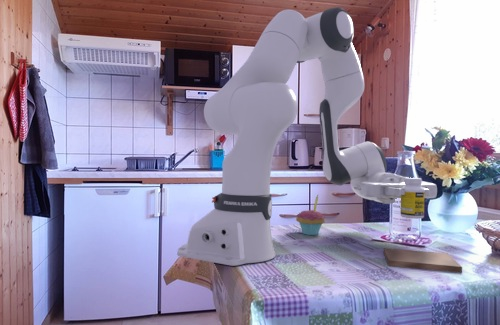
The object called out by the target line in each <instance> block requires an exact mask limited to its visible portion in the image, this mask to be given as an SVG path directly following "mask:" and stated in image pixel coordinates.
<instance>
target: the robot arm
mask: <svg viewBox="0 0 500 325" xmlns="http://www.w3.org/2000/svg"><path fill="white" fill-rule="evenodd" d="M354 32H355V26H354V22H353V19H352V16H351V15H350V14H349V12H347V10H345V9H344V8H342V7H340V6H339V7H331V8H327V9H324V10H323V11H322V12H318V13H315V14H313V15H310V16H309V17H304V15H302V13H300V12H299V11H297V10H294V9H283V10H281V11H279V12H278V13H277V14H276V15H274V17H273V18H272V19H271V21H269V23H268V24H267V26H265V28H264V30H263V31H262V33H261V35H260V37H259V39H258V40H257V42H256V44H255V46H254V48H253V49H252V51H251V53H250V55H249V56H248V57H247V59H246V61H245V62H244V63H243V64H242V66H241V67H240V68H239V69H238V70H237V71H236V72H235V73H234V74H233V75H232V76H231V78H230V79H228V81H227V82H226V83H225V85H224V86H223V87H221V88H220V89H219V90H218V91H217V92H216V93H214V94H213V95H211V96H210V97H209V98H208V99H207V100H206V102H205V104H204V107H203V117H204V120H205V123H206V124H207V126H208V127H209V129H211V130H212V131H214V132H217V133H221V134H223V135H224V134H225V135H231V136H233V135H237V136H236V140H235V143H234V145H233V147H232V149H231V150H230V151H229V152H228V153H227V154H226V155H225V156H224V158H223V161H222V173H221V174H222V178H221V179H222V180H221V192H220V193H219V194H217V195H215V196H214V197H213V196H212V197H211V199H212V200H211V203H213V207H214V208H213V209H212V210H211V211H209V212H208V213H207V214H206V215H205V216H203V217H201V218H200V219H199V220H197V221H196V222H195V223H194V224H193V225H192V226H191V227H190V230H189V231H188V232H189V233H188V238H187V242H186V243H184V244H182V245H181V246H180V247H178V249H177V254H176V255H177V257H179V258H181V257H182V258H187V259H192V260H193V259H194V260H197V261H204V262H209V263H215V264H221V265H226V266H234V267H235V266H241V265H244V264H253V263H262V262H267V261H271V260H272V259H274V258H275V257H276V252H275V248H274V243H273V237H272V228H271V218H272V216H273V215H272V212H273V200H272V194H271V193H270V192H271V191H270V190H271V172H272V171H271V170H272V163H273V162H272V161H273V157H274V152H275V150H276V148H277V145H278V142H279V141H280V139H281V137H282V135H284V133H285V131H286V130H287V129H288V128H289V127H291V125H292V124H293V123H294V121H295V119H296V118H297V115H298V105H299V104H298V99H297V96H296V94H295V92H294V90H293V89H292V88H291V86H289V85H288V84H287V83H288V81H289V80H290V78H291V76H292V74H293V72H294V69H295V68H296V65H297V64H301V63H304V62H306V61H312V60H314V59H318V60H319V62H320V68H321V73H322V78H323V81H324V88H325V89H324V90H325V91H324V97H323V99H322V101H321V102H319V103H320V104H319V112H318V113H319V127H320V136H321V138H320V139H321V148H322V171H323V175H324V177H325V179H326V180H327V182H330V183H331V184H334V185H335V186H336V185H337V186H341V187H342V186H343V185H346V184H347V183H349V182H350V188H351V190H352V191H353V192H354V193H355V194H356V195H357V196H358V197H361V199H362V198H363V199H365V200H369V201H374V202H377V203H380V204H381V203H382V204H386V205H389V204H390V205H391V204H393V203H396V202H395V199H397V198H401V196H404V195H405V193H404V192H405V189H401V188H402V187H403V186H405V182H404V178H409V177H410V178H411V176H404V175H403V176H402V175H399V174H396V173H392V172H387V159H386V156H385V153H384V151H383V149H382V148H381V147H380V146H379V145H377V144H376V143H374V142H372V141H369V140H366V141H364V142H361V143H357V144H354V145H353V146H350V147H347V148H344V149H341V150H340V148H339V136H338V123H339V120H340V118H341V117H342V116H343V115H344V114H346V112H347V111H348V110H349V109H351V108H352V107H353V106H354V105H355V104H357V103H358V101H359V100H360V99H361V98H362V96H363V93H364V91H365V78H364V74H363V70H362V66H361V63H360V59H359V56H358V54H357V51H356V50H355V47H354V45H353V40H354V39H353V38H354V34H355V33H354ZM421 187H423V188H424V190H425V197H424V199H435V198H437V194H438V187H437V184H436V183H433V182H429V181H423V180H422V183H421Z"/></svg>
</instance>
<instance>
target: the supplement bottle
mask: <svg viewBox="0 0 500 325" xmlns="http://www.w3.org/2000/svg"><path fill="white" fill-rule="evenodd" d="M422 181H423V179H422V178H421V177H413V178H404V182H405V186H403V187H402V188H401V189H405V192H404V193H405V195H404V196H401V201H400V216H401V217H402V218H406V219H423V218H425V198H424V197H425V190H424V188H423V187H421V183H422Z"/></svg>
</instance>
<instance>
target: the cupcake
mask: <svg viewBox="0 0 500 325" xmlns="http://www.w3.org/2000/svg"><path fill="white" fill-rule="evenodd" d="M318 200H319V194H317V195H316V196H315V201H314V207H313V209H310V210H309V209H308V210H302V211H301V212H299V213H298V214H297V215H296V219H295V221H297V222H298V223H299V225H300V229H301V232H302V234H303V235H307V236H317V235H318V234H319V232H320V229H321V227H322V224H325V222H326V221H325V220H326V219H325V218H326V217H325V215H324V214H322V213H321V212H319V211H318V210H317V206H318V202H319V201H318Z"/></svg>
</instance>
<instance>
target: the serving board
mask: <svg viewBox="0 0 500 325" xmlns="http://www.w3.org/2000/svg"><path fill="white" fill-rule="evenodd" d="M383 255H384V258H385V261H386V263H387V265H388V266H389V267H399V268H409V269H419V270H430V271H439V272H452V273H463V266H462V265H461V264H460V263H458V261H456V260H455V258H453V257H452V256H451V255H450V254H449V253H448V252H446V253H445V252H437V251H435V252H434V251H426V250H425V251H424V250H412V249H411V250H410V249H400V248H399V249H398V248H387V247H384V248H383Z"/></svg>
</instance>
